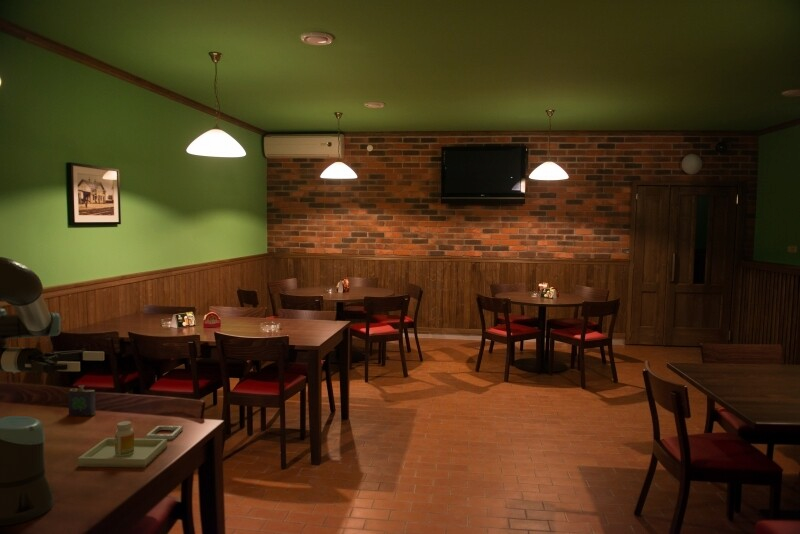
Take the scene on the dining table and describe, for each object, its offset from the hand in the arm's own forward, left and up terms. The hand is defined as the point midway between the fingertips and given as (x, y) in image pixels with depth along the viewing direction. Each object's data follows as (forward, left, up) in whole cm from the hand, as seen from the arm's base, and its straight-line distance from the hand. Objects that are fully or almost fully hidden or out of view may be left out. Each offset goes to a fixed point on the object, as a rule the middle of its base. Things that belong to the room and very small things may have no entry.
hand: (92, 361), depth 170 cm
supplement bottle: (0, -10, -29) cm, 31 cm away
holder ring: (+18, -15, -30) cm, 38 cm away
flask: (+36, +24, -30) cm, 53 cm away
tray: (0, -10, -30) cm, 32 cm away
